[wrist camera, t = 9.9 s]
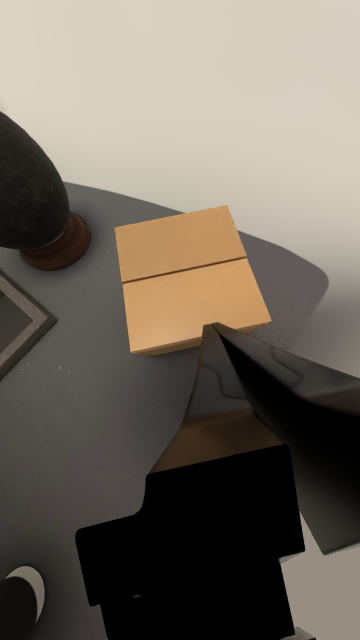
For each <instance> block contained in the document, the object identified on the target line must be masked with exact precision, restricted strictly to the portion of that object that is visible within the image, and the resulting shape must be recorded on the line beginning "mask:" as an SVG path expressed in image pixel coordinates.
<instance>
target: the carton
mask: <svg viewBox="0 0 360 640" xmlns="http://www.w3.org/2000/svg"><path fill="white" fill-rule="evenodd" d="M115 233H116V241H117V249H118V257H119V265H120V273H121V280H122V283H123V284H126V283H131V282H136V281H140V280H145V279H150V278H155V277H159V276H164V275H169V274H174V273H179V272H183V271H188V270H193V269H198V268H203V267H207V266H212V265H217V264H222V263H226V262H231V261H236V260H241V259H244V258H246V256H247V255H246V253H245V250H244V248H243V245H242V242H241V240H240V237H239V235H238V232H237V229H236V227H235V224H234V222H233V219H232V217H231V214H230V212H229V209H228V206H227V205H225V206H220V207H216V208H210V209H205V210H200V211H195V212H191V213H185V214H180V215H175V216H170V217H165V218H160V219H155V220H150V221H145V222H140V223H135V224H130V225H125V226H120V227H115ZM267 324H268V323H265V324H261V325H256V326H251V327H247V328H242V329H238V331H240V332H242V333H245V334H247V333H249V332H252V331H254V330H256V329H258V328H261V327H263V326H265V325H267ZM200 345H201V338H197V339H192V340H188V341H183V342H179V343H174V344H169V345H165V346H160V347H156V348H151V349H147V350H142V351H138V352H133V354H139V355H146V356H156V355H161V354H165V353H170V352H174V351H179V350H183V349H188V348H192V347H197V346H200Z"/></svg>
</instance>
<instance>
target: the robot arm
mask: <svg viewBox="0 0 360 640" xmlns="http://www.w3.org/2000/svg"><path fill="white" fill-rule="evenodd" d="M299 510H300V512H301V514H302V516H303V518H304V520H305V522H306V524H307V526H308V527H309V529H310V531H311V533H312V535H313V537H314V539H315V540H316V542H317V544H318V546H319V548H320V550H321V552H322V553H323V555H329V554H332V553H336V552H340V551H344V550H348V549H352V548H356V547H359V546H360V378H357V377H354V376H351V375H349V374H346V373H343V372H340V371H337V370H334V369H332V368H329V367H326V366H323V365H321V364H318V363H315V362H312V361H309V360H307V359H304V358H301V357H299V356H296V355H294V354H291V353H289V352H286V351H284V350H282V349H279V348H277V347H275V346H272V345H270V344H268V343H265V342H263V341H261V340H258V339H256V338H254V337H251V336H249V335H247V334H245V333H242V332H240V331H238V330H235V329H233V328H231V327H228V326H226V325H224V324H221V323H219V322H215V323H211V324H205V325H203V329H202V337H201V345H200V353H199V360H198V367H197V373H196V379H195V382H194V386H193V390H192V393H191V396H190V399H189V402H188V406H187V409H186V412H185V415H184V418H183V421H182V423H181V426H180V428H179V430H178V432H177V434H176V435H175V437H174V438H173V439H172V441H171V442H170V444H169V445H168V446H167V448H166V449H165V451H164V452H163V453H162V455H161V456H160V458H159V459H158V461H157V462H156V463H155V465H154V466H153V468H152V469H151V470H150V472H149V473H148V475H147V476H146V486H145V496H144V500H143V504H142V507H141V509H140V511H138V512H137V513H135V514H134V515H131V516H127V517H123V518H120V519H116V520H112V521H108V522H104V523H100V524H96V525H92V526H89V527H85V528H81V529H79V530H77V532H76V535H75V541H76V546H77V551H78V555H79V560H80V565H81V569H82V574H83V578H84V583H85V588H86V592H87V597H88V602H89V605H90V606H91V607H92V606H99V605H100V606H101V611H102V615H103V620H104V625H105V629H106V634H107V639H108V640H316V638H315V637H313V636H312V635H310V634H309V633H307V632H305V631H304V630H302V629H301V628H299V627H296V628H294V625H293V620H292V616H291V611H290V607H289V602H288V597H287V593H286V588H285V583H284V579H283V574H282V569H281V565H280V564H281V563H283V562H285V561H287V560H289V559H291V558H293V557H295V556H297V555H299V554H301V553H302V552H304V551H305V545H304V539H303V533H302V526H301V520H300V513H299Z"/></svg>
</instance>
